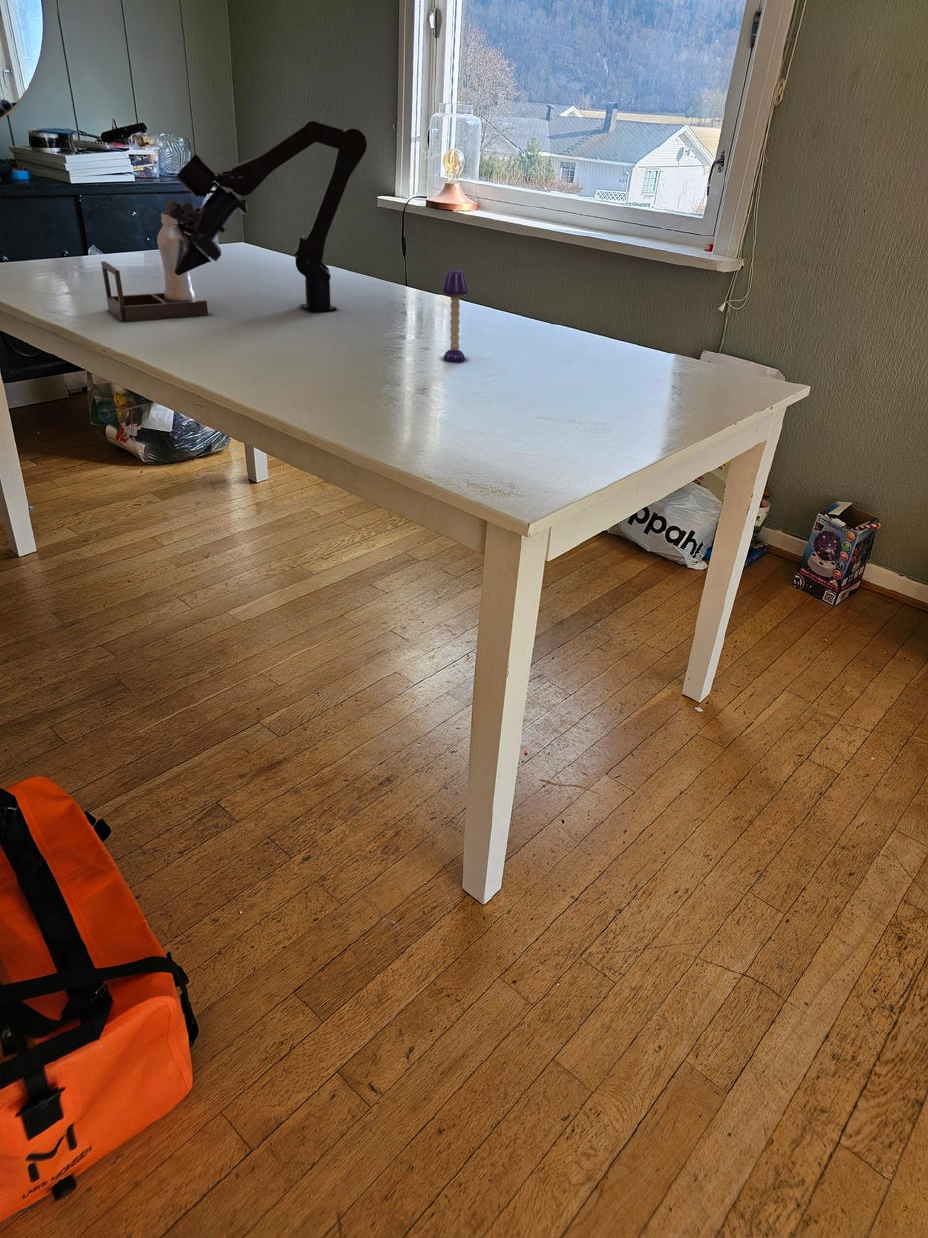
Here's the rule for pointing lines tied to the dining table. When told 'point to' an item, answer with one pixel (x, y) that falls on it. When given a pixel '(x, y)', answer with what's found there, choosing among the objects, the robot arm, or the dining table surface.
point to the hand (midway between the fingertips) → (170, 270)
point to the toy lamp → (455, 311)
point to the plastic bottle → (174, 261)
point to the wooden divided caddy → (146, 303)
